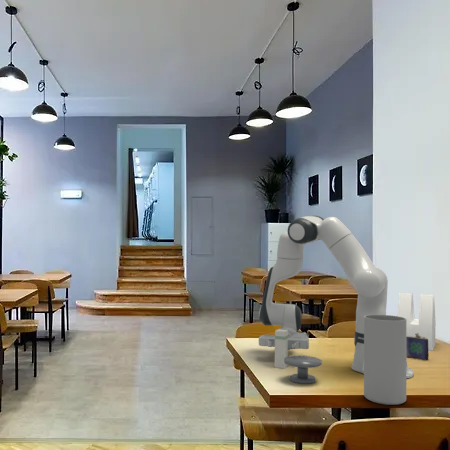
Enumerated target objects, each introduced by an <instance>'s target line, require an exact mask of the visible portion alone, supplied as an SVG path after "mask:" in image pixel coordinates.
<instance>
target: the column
mask: <svg viewBox="0 0 450 450" xmlns="http://www.w3.org/2000/svg"><path fill="white" fill-rule="evenodd" d="M274 335H275V347H274V368H276V369H287V367H288V366H289V365H287V364H285V363H284V358H285V357H288V355H289V354H288V353H289V350H288V330H282V329H280V328H279V329H276V330H275V331H274Z"/></svg>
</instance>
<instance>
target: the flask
mask: <svg viewBox="0 0 450 450" xmlns="http://www.w3.org/2000/svg"><path fill="white" fill-rule="evenodd" d="M418 334H419V333H416V334H415V335H416V337H413V336H406V358H409V359H415V360H422V361H429V357H430V355H429V351H428V339H427V338H425V337H423V338H421V336H420V335H418Z"/></svg>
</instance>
